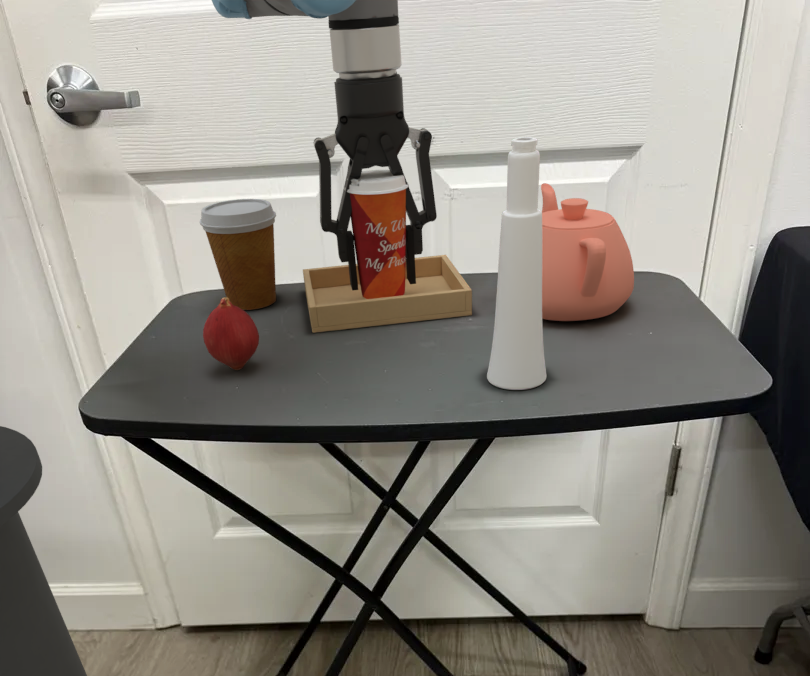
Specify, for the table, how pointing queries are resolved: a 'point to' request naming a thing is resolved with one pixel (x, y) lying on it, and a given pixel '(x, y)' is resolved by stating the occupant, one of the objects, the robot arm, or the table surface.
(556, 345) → the table surface
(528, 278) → the cosmetic bottle
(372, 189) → the paper cup
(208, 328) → the onion
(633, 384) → the table surface
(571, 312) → the teapot
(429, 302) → the tray
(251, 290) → the disposable coffee cup
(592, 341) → the table surface
